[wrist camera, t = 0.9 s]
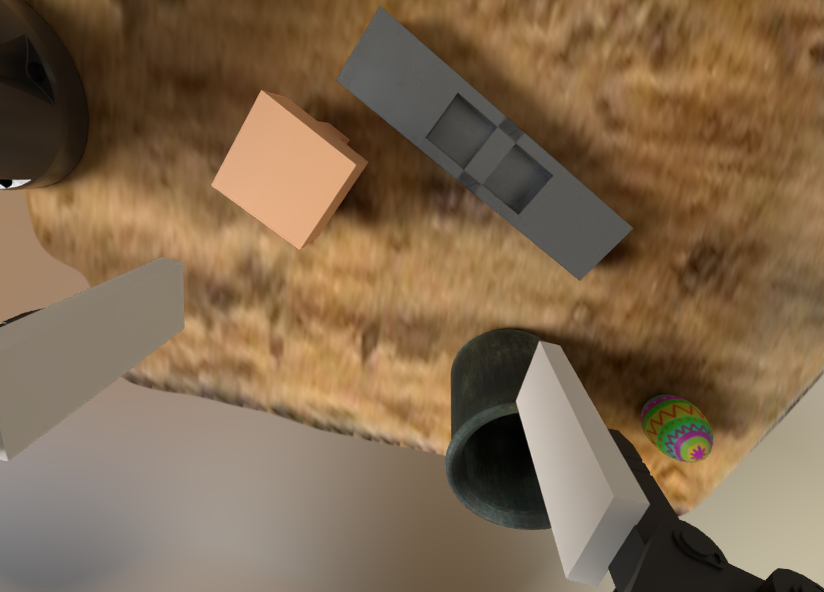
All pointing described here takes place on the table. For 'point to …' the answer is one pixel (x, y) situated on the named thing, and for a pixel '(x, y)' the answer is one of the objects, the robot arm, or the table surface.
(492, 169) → the rail
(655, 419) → the egg
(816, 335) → the table surface
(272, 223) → the tan block with tab
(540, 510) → the mug
